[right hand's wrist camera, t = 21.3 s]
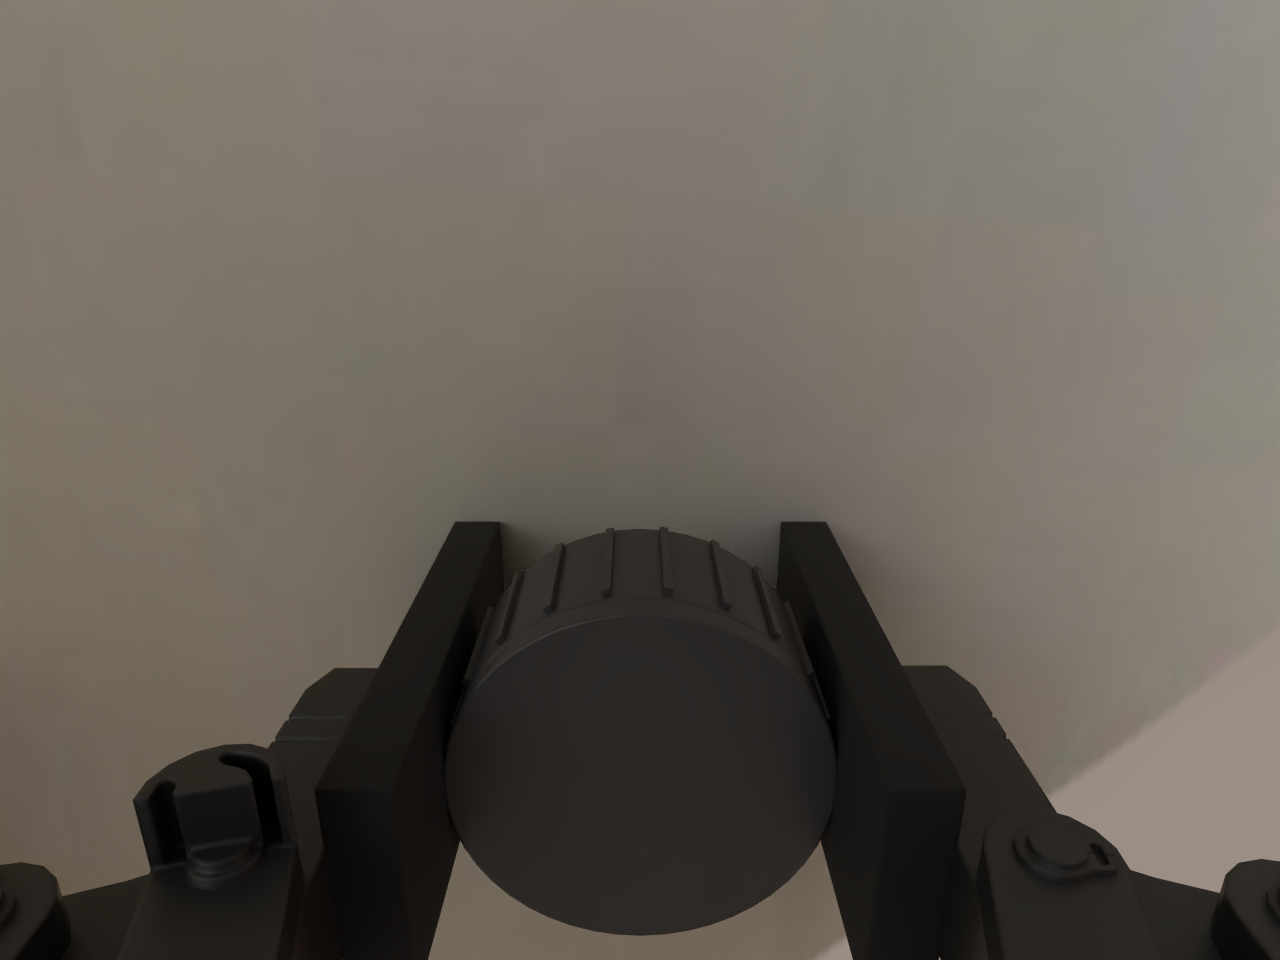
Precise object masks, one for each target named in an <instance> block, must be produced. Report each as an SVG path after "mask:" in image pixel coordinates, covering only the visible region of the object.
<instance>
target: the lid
mask: <svg viewBox="0 0 1280 960" xmlns="http://www.w3.org/2000/svg"><path fill="white" fill-rule="evenodd" d="M461 684H463V685H464V687H463V690H462V693H461V696H460V699H459V702H458V705H457V707H456V710H455V713H454V716H453V719H452V722H451V725H450V727H451V731H450V734H449V737H448V741H447V744H446V750H445V757H444V763H443V768H444V782H445V792H446V802H447V808H448V811H449V814H450V817H451V820H452V823H453V826H454V829H455V831H456V833H457V835H458V836H459V838H460V840H461V842H462V844H463V846H464V848H465V849H466V851H467V852H468V853H469V855H470V856H471V858H472V859H473V860H474V862H475V863H476V865H477V866H478V867H479V868H480V869H481V870H482V871H483V872H484V873H485V874H486V875H487V876H488V877H489V878H490V879H491V881H493V882H494V883H495V884H496V885H497V886H499V887H500V888H501V889H502V890H503V891H505V892H506V893H507V894H508V895H510V896H511V897H513V898H514V899H516V900H518V901H519V902H521V903H522V904H524V905H525V906H527V907H529V908H531V909H533V910H535V911H537V912H539V913H541V914H543V915H545V916H547V917H549V918H552V919H555V920H557V921H560V922H563V923H566V924H568V925H571V926H575V927H579V928H583V929H587V930H591V931H597V932H604V933H610V934H619V935H640V936H641V935H660V934H669V933H676V932H682V931H688V930H692V929H696V928H700V927H704V926H708V925H711V924H714V923H717V922H720V921H722V920H725V919H728V918H730V917H733V916H735V915H737V914H739V913H741V912H743V911H745V910H747V909H749V908H751V907H753V906H755V905H756V904H758V903H759V902H761V901H762V900H764V899H765V898H767V897H769V896H770V895H772V894H773V893H774V892H775V891H777V890H778V889H779V888H780V887H781V886H783V885H784V884H785V883H786V882H787V881H789V880H790V879H791V878H792V877H793V875H794V874H795V873H796V872H797V871H798V870H799V869H800V868H801V867H802V866H803V865H804V864H805V862H806V861H807V860H808V858H809V857H810V855H811V854H812V853H813V851H814V850H815V848H816V847H817V845H818V843H819V841H820V839H821V838H822V836H823V834H824V832H825V830H826V828H827V825H828V822H829V819H830V817H831V814H832V811H833V805H834V796H835V787H836V776H837V753H836V746H835V742H834V738H833V735H832V732H831V729H830V720H831V718H830V715H829V712H828V709H827V706H826V704H825V701H824V698H823V695H822V692H821V689H820V686H819V683H818V681H817V676H816V673H815V670H814V668H813V665H812V662H811V659H810V656H809V654H808V651H807V648H806V645H805V642H804V640H803V637H802V634H801V631H800V628H799V625H798V623H797V620H796V617H795V614H794V611H793V609H792V606H791V604H790V603H789V601H787V602H785V603H783V602H782V600H781V599H780V597H779V596H778V594H777V593H776V591H775V590H774V589H773V588H772V587H771V586H770V584H769V583H768V582H767V581H766V580H765V579H764V577H763V573H762V570H761V569H760V568H759V567H758V566H755V567H754V568H752V567H751V566H749V565H748V564H747V563H746V562H744V561H743V560H741V559H740V558H738V557H736V556H735V555H733V554H732V553H730V552H728V551H727V550H725V549H722V548H720V546H719V543H718V542H716V541H714V540H711V542H710V543H709V542H707V541H704V540H701V539H698V538H695V537H691V536H688V535H685V534H680V533H674V532H669V531H668V528H664V527H660V530H647V529H633V530H617V531H614V528H609V529H606V533H601V534H596V535H592V536H589V537H586V538H583V539H580V540H576V541H573V542H571V543H569V544H567V545H565V546H564V544H563V543H560V544H557V545H556V547H555V550H554V551H552V552H550V553H549V554H547V555H546V556H544V557H542V558H541V559H539V560H538V561H536V562H535V563H533V564H532V565H531V566H530V567H529V568H527V569H526V570H525V571H524V572H521V571H520V570H518V571H517V572H516V573H515V574H514V577H513V580H512V583H511V585H510V586H509V587H508V588H507V589H506V590H505V591H504V593H503V594H502V596H501V597H500V599H499V600H498V602H497V603H496V604H495V606H494V608H491V607H489V606H488V608H487V610H486V611H485V614H484V617H483V620H482V623H481V626H480V629H479V632H478V635H477V638H476V641H475V644H474V647H473V650H472V653H471V656H470V659H469V662H468V665H467V668H466V671H465V673H464V676H463V679H462V682H461Z"/></svg>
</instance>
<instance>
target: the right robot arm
mask: <svg viewBox="0 0 1280 960" xmlns="http://www.w3.org/2000/svg"><path fill="white" fill-rule="evenodd" d="M503 593H504V580H503V564H502V548H501V532H500V522H455V523H454V525H453V527H452V529H451V531H450V533H449V535H448V536H447V538H446V540H445V542H444V544H443V546H442V548H441V550H440V552H439V554H438V556H437V557H436V559H435V561H434V563H433V565H432V567H431V569H430V571H429V573H428V575H427V576H426V578H425V580H424V582H423V584H422V586H421V588H420V590H419V592H418V594H417V595H416V597H415V599H414V601H413V603H412V605H411V607H410V609H409V611H408V613H407V615H406V616H405V618H404V620H403V622H402V624H401V626H400V628H399V630H398V632H397V634H396V635H395V637H394V639H393V641H392V643H391V645H390V647H389V649H388V651H387V653H386V654H385V656H384V658H383V660H382V662H381V664H380V666H379V668H334V669H333V670H332V671H330V672H329V673H328V674H326V675H325V676H324V677H322V678H321V679H320V680H318V681H317V682H316V683H314V684H313V685H312V686H310V687H309V688H308V689H306V690H305V692H304V693H303V695H302V696H301V698H300V699H299V701H298V703H297V704H296V706H295V707H294V709H293V710H292V712H291V713H290V715H289V721H285V723H284V724H283V726H282V727H281V729H280V731H279V732H278V734H277V735H276V740H275V742H272V743H271V745H270V746H269V748H268V749H267V748H263V747H260V746H256V745H252V744H235V745H222V746H218V747H214V748H210V749H206V750H202V751H198V752H195V753H193V754H191V755H188V756H186V757H184V758H182V759H180V760H178V761H176V762H173V763H171V764H169V765H168V766H166V767H165V768H164V769H162V770H161V771H160V772H158V773H157V774H156V775H154V776H153V777H152V778H150V779H149V780H148V781H147V782H146V783H145V784H144V786H143V787H142V788H141V790H140V791H139V793H138V794H137V795H136V797H135V798H134V799H133V803H134V807H135V811H136V814H137V818H138V822H139V826H140V830H141V834H142V837H143V841H144V845H145V849H146V853H147V857H148V861H149V864H150V868H151V870H150V873H149V874H148V875H144V876H141V877H138V878H135V879H132V880H128V881H125V882H120V883H116V884H112V885H108V886H104V887H99V888H95V889H91V890H87V891H83V892H78V893H74V894H70V895H66V896H62V894H61V891H60V888H59V885H58V882H57V878H56V877H55V876H54V875H53V874H51V873H50V872H49V871H48V870H47V869H46V868H45V867H44V866H39V865H33V864H27V863H22V862H20V863H13V864H6V865H0V960H428V957H429V953H430V950H431V946H432V942H433V939H434V935H435V931H436V928H437V924H438V920H439V916H440V913H441V909H442V905H443V902H444V898H445V894H446V891H447V887H448V883H449V879H450V876H451V872H452V868H453V865H454V861H455V857H456V854H457V850H458V846H459V842H460V838H459V836H458V835H457V833H456V831H455V829H454V826H453V823H452V820H451V817H450V814H449V811H448V808H447V802H446V792H445V782H444V768H443V763H444V757H445V750H446V744H447V741H448V737H449V734H450V731H451V727H450V725H451V722H452V719H453V716H454V713H455V710H456V707H457V705H458V702H459V699H460V696H461V693H462V690H463V687H464V685H463V684H461V682H462V679H463V676H464V673H465V671H466V668H467V665H468V662H469V659H470V656H471V653H472V650H473V647H474V644H475V641H476V638H477V635H478V632H479V629H480V626H481V623H482V620H483V617H484V614H485V611H486V610H487V608H488V606H489V607H491V608H494V606H495V604H496V603H497V602H498V600H499V599H500V597H501V596H502V594H503ZM777 594H778V596H779V597H780V599H781V600H782V602H783V603H785V602H787V601H789V603H790V604H791V606H792V609H793V611H794V614H795V617H796V620H797V623H798V625H799V628H800V631H801V634H802V637H803V640H804V642H805V645H806V648H807V651H808V654H809V656H810V659H811V662H812V665H813V668H814V670H815V673H816V676H817V681H818V683H819V686H820V689H821V692H822V695H823V698H824V701H825V704H826V706H827V709H828V712H829V715H830V718H831V720H830V729H831V732H832V735H833V738H834V742H835V746H836V753H837V776H836V787H835V796H834V805H833V811H832V814H831V817H830V819H829V822H828V825H827V828H826V830H825V832H824V834H823V836H822V838H821V843H822V847H823V850H824V854H825V858H826V861H827V865H828V869H829V873H830V876H831V880H832V884H833V887H834V891H835V895H836V898H837V902H838V906H839V910H840V913H841V917H842V921H843V924H844V928H845V932H846V935H847V939H848V943H849V946H850V950H851V954H852V958H853V960H939V956H940V959H941V960H1280V862H1279V861H1272V860H1264V859H1259V860H1253V861H1247V862H1241V863H1238V864H1237V865H1236V866H1235V867H1234V868H1232V869H1231V870H1230V871H1229V872H1228V873H1227V874H1226V876H1225V879H1224V882H1223V885H1222V888H1221V892H1220V893H1217V892H1213V891H1209V890H1204V889H1200V888H1196V887H1192V886H1188V885H1183V884H1179V883H1175V882H1171V881H1166V880H1162V879H1158V878H1154V877H1151V876H1148V875H1145V874H1141V873H1138V872H1135V871H1132V870H1130V869H1129V867H1128V866H1127V864H1126V863H1125V861H1124V859H1123V858H1122V856H1121V855H1120V853H1119V852H1118V850H1117V848H1116V847H1114V846H1113V845H1112V844H1111V843H1110V842H1108V841H1107V840H1106V839H1105V838H1104V837H1103V836H1101V835H1100V834H1099V833H1098V832H1097V831H1096V830H1094V829H1092V828H1090V827H1088V826H1086V825H1084V824H1082V823H1080V822H1079V821H1077V820H1075V819H1073V818H1071V817H1069V816H1065V815H1061V814H1058V813H1057V812H1056V811H1055V809H1054V808H1053V806H1052V804H1051V803H1050V801H1049V800H1048V798H1047V797H1046V795H1045V794H1044V792H1043V791H1042V789H1041V787H1040V786H1039V784H1038V783H1037V781H1036V780H1035V778H1034V777H1033V775H1032V774H1031V772H1030V770H1029V769H1028V767H1027V766H1026V764H1025V763H1024V761H1023V760H1022V758H1021V756H1020V755H1019V753H1018V752H1017V750H1016V749H1015V747H1014V746H1013V744H1012V743H1011V741H1010V739H1006V733H1005V732H1004V730H1003V729H1002V727H1001V726H1000V724H999V722H998V721H997V719H996V718H993V717H992V712H991V710H990V709H989V707H988V705H987V704H986V702H985V701H984V699H983V698H982V696H981V695H980V693H979V692H978V690H977V688H976V687H975V686H973V685H972V684H971V683H969V682H968V681H967V680H965V679H964V678H963V677H961V676H960V675H959V674H957V673H956V672H955V671H953V670H952V669H951V668H949V667H948V666H901V664H900V662H899V660H898V658H897V657H896V655H895V653H894V651H893V649H892V647H891V645H890V643H889V641H888V639H887V637H886V636H885V634H884V632H883V630H882V628H881V626H880V624H879V622H878V620H877V618H876V617H875V615H874V613H873V611H872V609H871V607H870V605H869V603H868V601H867V599H866V598H865V596H864V594H863V592H862V590H861V588H860V586H859V584H858V582H857V580H856V579H855V577H854V575H853V573H852V571H851V569H850V567H849V565H848V563H847V561H846V559H845V558H844V556H843V554H842V552H841V550H840V548H839V546H838V544H837V542H836V540H835V539H834V537H833V535H832V533H831V531H830V529H829V527H828V525H827V523H826V522H781V531H780V547H779V562H778V578H777Z"/></svg>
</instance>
